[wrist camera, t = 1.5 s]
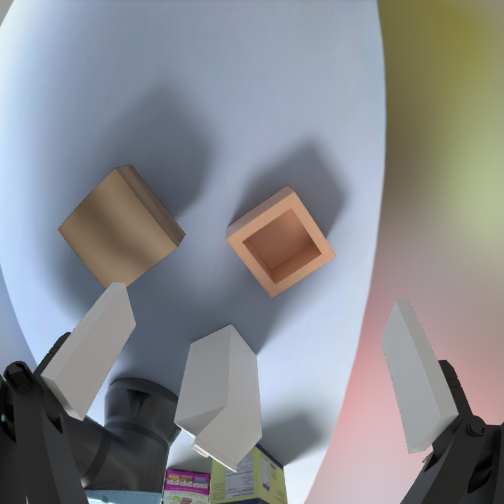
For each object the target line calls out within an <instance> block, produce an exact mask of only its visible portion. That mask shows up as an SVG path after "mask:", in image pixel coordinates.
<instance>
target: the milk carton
mask: <svg viewBox="0 0 504 504" xmlns="http://www.w3.org/2000/svg"><path fill="white" fill-rule="evenodd" d="M174 423H175V424H177V425H178V426H179V427H180V428H181V429H183V430H184V431H185V432H187V433H188V434H189V435H190V436H192V437H193V438H194V439H195V441H194V443H193V444H192V445H191V446H190V447H191V448H192V449H194V450H195V451H196V452H198V453H199V454H201V455H203V456H204V457H208V456H211V457H212V458H213V459H215V460H216V461H218V462H219V463H221V464H223V465H224V466H226V467H227V468H229V469H230V470H232V471H234V472H237V464H238V463H239V462H240V461H241V460H242V459H243V458H244V457H245V456H246V455H247V453H248V452H249V451H250V450H251V449H252V448H253V447H254V446H255V445H256V444H257V442H258V441H259V440H260V439H261V438H262V437H263V436H262V423H261V409H260V395H259V381H258V367H257V356H256V354H255V353H254V352H253V351H252V349H251V348H250V347H249V346H248V344H247V343H246V342H245V340H244V339H243V338H242V337H241V335H240V334H239V333H238V331H237V330H236V329H235V328H234V326H233V325H232V324H230V325H228V326H226V327H224V328H222V329H220V330H218V331H216V332H214V333H211V334H209V335H207V336H205V337H203V338H201V339H199V340H197V341H195V342H193V343H191V344H190V349H189V353H188V357H187V362H186V366H185V371H184V376H183V380H182V385H181V390H180V394H179V399H178V404H177V409H176V414H175V419H174Z"/></svg>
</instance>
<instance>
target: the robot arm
mask: <svg viewBox="0 0 504 504" xmlns="http://www.w3.org/2000/svg"><path fill="white" fill-rule="evenodd" d="M135 326H136V322H135V319H134V315H133V312H132V308H131V305H130V301H129V297H128V293H127V289H126V285H125V283H117V282H112V283H111V284H110V286H109V287H108V288H107V289H106V290H105V292H104V293H103V294H102V295H101V296H100V298H99V299H98V300H97V301H96V303H95V304H94V305H93V306H92V307H91V309H90V310H89V311H88V312H87V314H86V315H85V316H84V317H83V319H82V320H81V321H80V323H79V324H78V325H77V326H76V328H75V329H74V330H73V332H72V333H71V332H67V333H65V334H64V335H63V336H61V337H60V338H59V339H58V340H57V341H56V343H55V344H54V345H53V347H52V348H51V349H50V351H49V353H47V355H46V356H45V357H44V359H43V360H42V361H41V363H40V364H39V366H38V367H37V368H36V370H35V371H34V373H33V374H32V372H31V371H30V369H29V367H28V366H27V365H26V363H25V362H22V361H16V362H13V363H11V364H10V365H9V366H7V368H6V369H5V371H4V374H3V376H4V377H5V379H6V380H7V381H5V380H4V379H3V377H2V376H1V375H0V504H160V502H161V499H162V497H163V494H162V492H163V485H164V479H165V473H166V466H167V460H168V454H169V449H170V447H171V445H172V444H173V442H174V441H175V439H176V438H177V436H178V435H179V433H180V432H181V430H182V429H181V428H180V427H179V426H178V425H177V424H175V423H174V419H175V414H176V409H177V404H178V398H177V397H176V396H175V395H174V394H173V393H172V392H170V391H169V390H167V389H166V388H164V387H162V386H160V385H158V384H155V383H153V382H150V381H146V380H142V379H135V378H125V379H120V380H117V381H115V382H114V383H112V384H111V385H110V387H109V389H108V391H107V394H106V396H105V424H104V427H103V426H101V425H100V424H98V423H97V422H95V421H94V420H93V419H91V418H90V417H88V416H87V415H86V414H87V412H88V410H89V408H90V406H91V404H92V402H93V400H94V399H95V397H96V395H97V393H98V391H99V389H100V387H101V386H102V384H103V382H104V380H105V378H106V377H107V375H108V373H109V371H110V369H111V368H112V366H113V364H114V362H115V361H116V359H117V357H118V355H119V354H120V352H121V350H122V348H123V347H124V345H125V343H126V342H127V340H128V338H129V337H130V335H131V333H132V331H133V330H134V328H135ZM381 345H382V348H383V352H384V355H385V358H386V362H387V365H388V369H389V372H390V376H391V380H392V383H393V387H394V391H395V395H396V398H397V403H398V407H399V411H400V415H401V419H402V423H403V428H404V433H405V437H406V442H407V447H408V452H409V454H411V453H416V452H421V451H425V450H426V449H427V448H428V447H429V446H430V445H431V444H432V446H433V451H432V453H430V454H429V455H428V456H427V457H426V458H425V459H424V460H423V461H422V462H423V463H425V462H426V461H427V462H426V463H425V465H424V467H423V468H422V470H421V472H420V474H419V475H418V477H417V479H416V480H415V482H414V484H413V485H412V487H411V488H410V490H409V491H408V493H407V494H406V496H405V497H404V499H403V500H402V502H401V503H400V504H504V422H503V423H502V424H501V425H486V424H485V422H484V421H483V420H482V419H481V418H480V417H478V416H475V415H473V414H472V411H471V409H470V406H469V404H468V401H467V399H466V396H465V394H464V391H463V389H462V387H461V384H460V382H459V379H457V375H456V372H455V370H454V368H453V367H452V366H451V365H450V364H449V363H448V362H447V360H439V361H438V360H437V358H436V356H435V353H434V351H433V349H432V347H431V344H430V342H429V340H428V338H427V336H426V333H425V331H424V329H423V327H422V325H421V323H420V321H419V319H418V317H417V315H416V313H415V311H414V309H413V307H412V305H411V303H410V301H409V300H395V303H394V306H393V309H392V312H391V315H390V318H389V321H388V324H387V326H386V329H385V332H384V335H383V338H382V340H381Z"/></svg>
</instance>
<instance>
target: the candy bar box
mask: <svg viewBox="0 0 504 504" xmlns="http://www.w3.org/2000/svg"><path fill="white" fill-rule="evenodd" d="M210 478H211V475H210V474H207V473H197V472H189V471H181V470H173V469H166V475H165V481H164V488H163V497H162V502H161V504H209V502H210Z"/></svg>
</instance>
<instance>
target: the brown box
mask: <svg viewBox="0 0 504 504" xmlns="http://www.w3.org/2000/svg"><path fill="white" fill-rule="evenodd" d="M58 230H59V232H60V233H61V235H62V236H63V237H64V239H65V240H66V241H67V243H68V244H69V245H70V247H71V248H72V249H73V250H74V252H75V253H76V254H77V256H78V257H79V258H80V259H81V261H82V262H83V263H84V264H85V266H86V267H87V268H88V269H89V270H90V272H91V273H92V274H93V275H94V276H95V278H96V279H97V280H98V281H99V282H100V283H101V285H102V286H103V287H104V288H105V289H107V288H108V287H109V286H110V284H111V283H112V282H117V283H125V285H126V287H128V286H129V285H130V284H131V283H133V282H134V281H135V280H136V279H138V278H139V277H140V276H141V275H143V274H144V273H145V272H146V271H148V270H149V269H150V268H152V267H153V266H154V265H155V264H157V263H158V262H159V261H161V260H162V259H163V258H164V257H166V256H167V255H168V254H170V253H171V252H172V251H173V250H175V249H176V248H177V247H178V246H179V244H180V242H181V241H182V239H183V238H184V236H185V233H184V231H183V230H182V229H181V228H180V226H179V225H178V224H177V223H176V221H175V220H174V219H173V218H172V216H171V215H170V214H169V213H168V211H167V210H166V209H165V208H164V206H163V205H162V204H161V202H160V201H159V200H158V199H157V197H156V196H155V195H154V193H153V192H152V191H151V190H150V188H149V187H148V186H147V184H146V183H145V182H144V180H143V179H142V178H141V177H140V175H139V174H138V173H137V171H136V170H135V169H134V167H133V166H132V165H127V166H122V167H117V168H115V169H114V170H113V171H112V172H111V173H110V174H108V175H107V176H106V177H105V178H104V179H103V180H102V181H101V182H100V183H99V184H98V185H97V187H96V188H95V189H94V190H93V191H92V192H91V193H90V194H89V195H88V196H87V197H86V198H85V199H84V200H83V201H82V202H81V203H80V204H79V206H78V207H77V208H76V209H75V210H74V211H73V212H72V213H71V214H70V216H69V217H68V218H67V219H66V220H65V221H64V222H63V224H62V225H61V226H60V227H59V228H58Z"/></svg>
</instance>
